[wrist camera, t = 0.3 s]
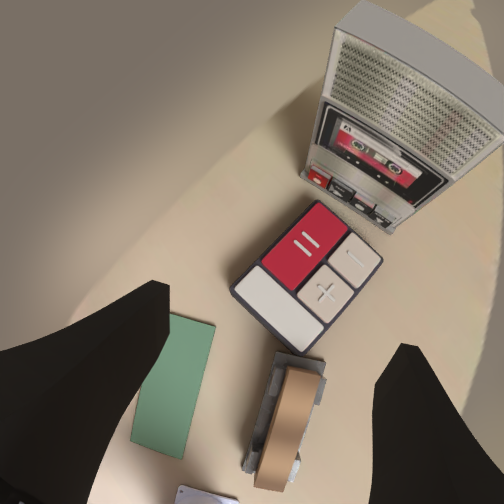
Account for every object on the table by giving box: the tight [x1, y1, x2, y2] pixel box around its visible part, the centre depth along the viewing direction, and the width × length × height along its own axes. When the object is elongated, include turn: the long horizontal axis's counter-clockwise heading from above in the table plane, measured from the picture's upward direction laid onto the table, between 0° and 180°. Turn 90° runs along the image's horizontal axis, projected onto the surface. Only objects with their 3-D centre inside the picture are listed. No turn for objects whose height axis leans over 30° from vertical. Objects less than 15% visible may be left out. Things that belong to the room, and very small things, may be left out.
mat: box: [130, 314, 216, 459], centre depth 36 cm, size 18×7×1 cm, turn 166°
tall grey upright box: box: [300, 0, 504, 235], centre depth 28 cm, size 14×6×25 cm, turn 56°
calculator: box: [229, 200, 383, 357], centre depth 37 cm, size 11×4×15 cm
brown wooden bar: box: [254, 365, 321, 492], centre depth 30 cm, size 14×3×3 cm, turn 165°
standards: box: [242, 351, 327, 482], centre depth 33 cm, size 16×6×4 cm, turn 165°
